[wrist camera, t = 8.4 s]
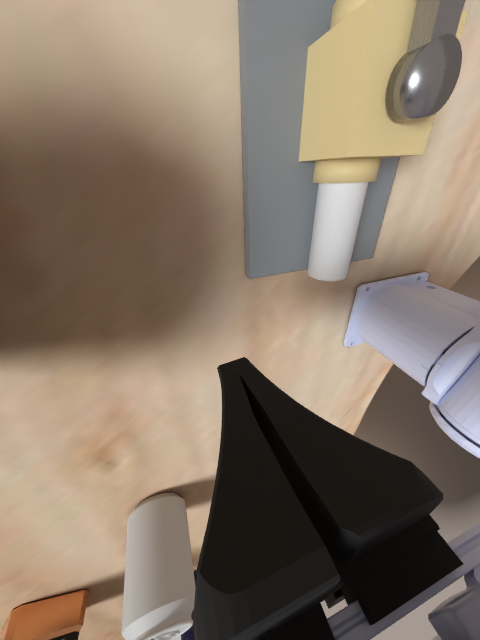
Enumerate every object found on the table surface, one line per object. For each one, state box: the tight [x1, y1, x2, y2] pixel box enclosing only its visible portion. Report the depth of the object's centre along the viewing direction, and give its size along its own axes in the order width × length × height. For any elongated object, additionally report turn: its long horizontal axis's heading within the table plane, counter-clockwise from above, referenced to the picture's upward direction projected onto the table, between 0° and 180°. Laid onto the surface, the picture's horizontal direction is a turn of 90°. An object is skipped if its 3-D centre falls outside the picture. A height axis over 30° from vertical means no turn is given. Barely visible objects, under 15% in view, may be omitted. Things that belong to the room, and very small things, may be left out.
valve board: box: [238, 0, 468, 281], centre depth 13 cm, size 12×20×6 cm, turn 2°
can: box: [122, 493, 196, 640], centre depth 28 cm, size 8×8×12 cm
